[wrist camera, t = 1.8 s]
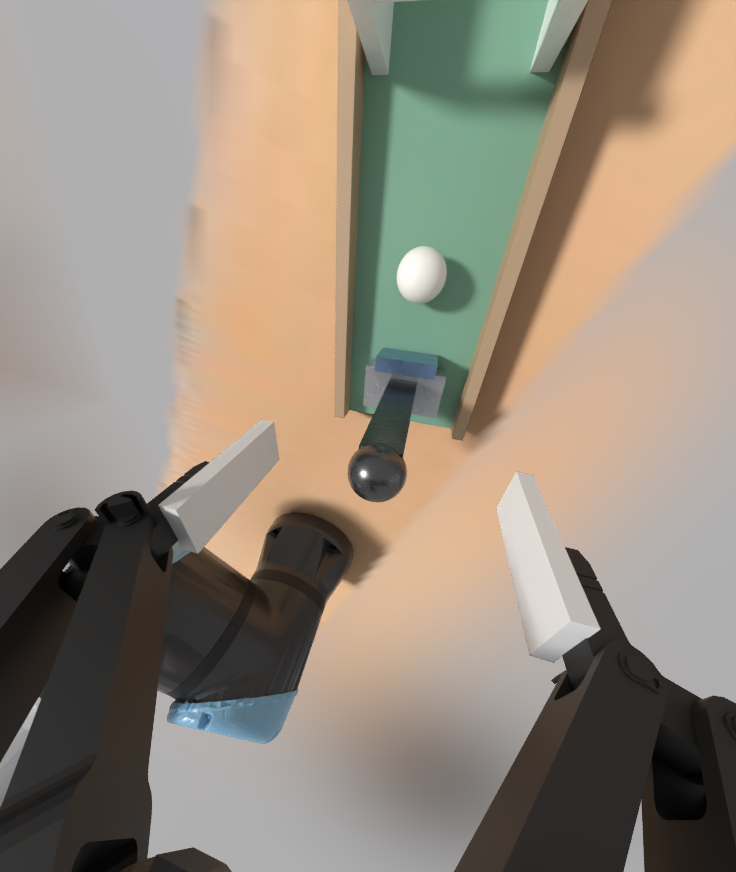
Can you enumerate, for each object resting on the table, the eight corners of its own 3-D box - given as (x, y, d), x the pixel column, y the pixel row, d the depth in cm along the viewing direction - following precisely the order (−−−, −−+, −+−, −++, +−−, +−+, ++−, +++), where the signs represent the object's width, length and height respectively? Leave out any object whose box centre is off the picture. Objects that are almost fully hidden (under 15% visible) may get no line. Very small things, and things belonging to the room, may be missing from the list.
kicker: (435, 409, 26) (433, 535, 13) (367, 397, 27) (306, 504, 14) (449, 356, 23) (461, 455, 10) (372, 345, 24) (300, 424, 12)
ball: (440, 303, 21) (440, 308, 18) (396, 299, 22) (390, 303, 19) (451, 250, 19) (453, 245, 16) (403, 246, 20) (397, 241, 17)
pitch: (460, 425, 27) (462, 440, 25) (343, 404, 29) (334, 416, 27) (654, -178, 11) (717, -309, 8) (359, -136, 13) (340, -232, 10)
